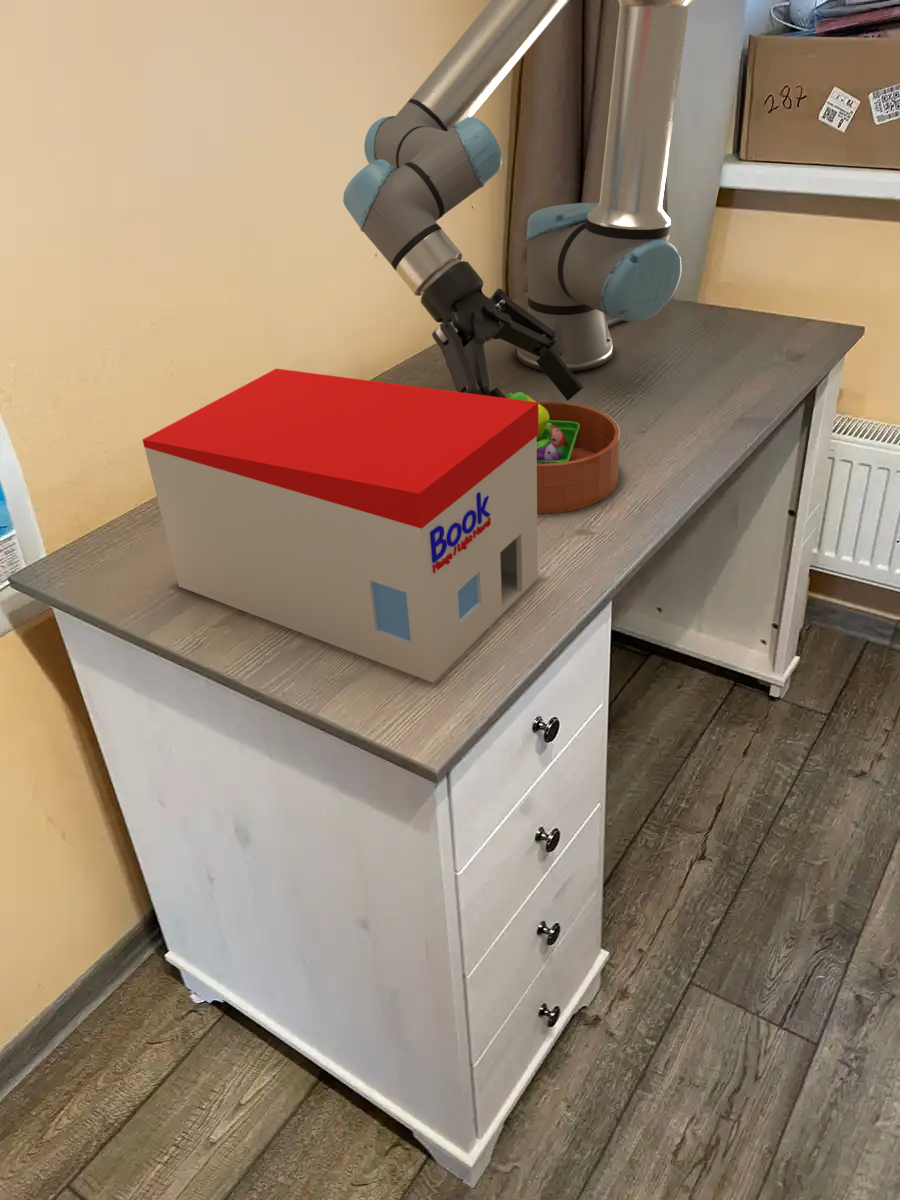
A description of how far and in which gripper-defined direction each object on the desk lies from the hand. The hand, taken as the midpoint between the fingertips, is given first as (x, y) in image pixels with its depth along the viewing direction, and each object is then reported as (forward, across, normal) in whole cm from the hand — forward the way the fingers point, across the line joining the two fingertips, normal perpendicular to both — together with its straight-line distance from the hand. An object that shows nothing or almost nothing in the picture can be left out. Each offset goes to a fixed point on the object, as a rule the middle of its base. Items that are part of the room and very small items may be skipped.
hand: (550, 415), depth 126 cm
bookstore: (+1, +32, -11) cm, 34 cm away
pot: (+6, 0, -7) cm, 9 cm away
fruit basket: (+5, +1, -7) cm, 8 cm away
